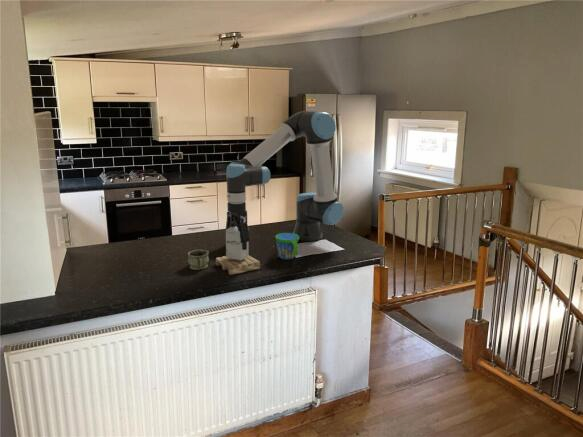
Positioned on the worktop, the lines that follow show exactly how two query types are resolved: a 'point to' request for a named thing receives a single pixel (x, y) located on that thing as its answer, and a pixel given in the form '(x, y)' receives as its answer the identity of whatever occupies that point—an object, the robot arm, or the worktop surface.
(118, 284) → the worktop surface
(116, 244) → the worktop surface
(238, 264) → the pallet
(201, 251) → the vessel
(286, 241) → the snack cup
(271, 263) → the worktop surface
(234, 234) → the supplement box
